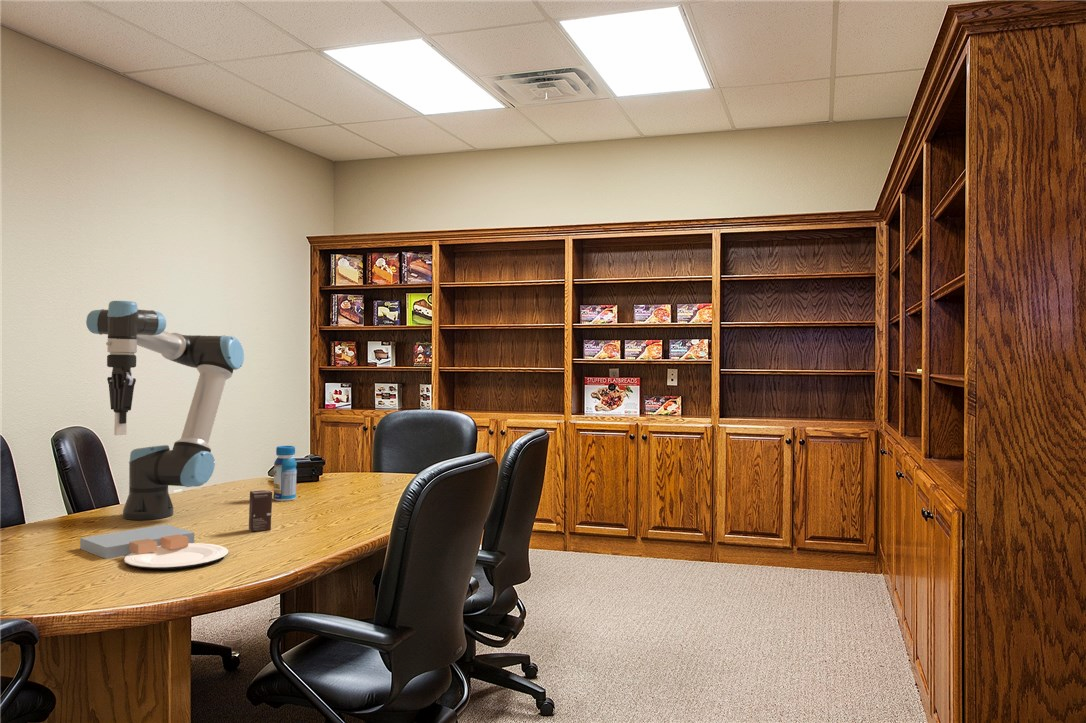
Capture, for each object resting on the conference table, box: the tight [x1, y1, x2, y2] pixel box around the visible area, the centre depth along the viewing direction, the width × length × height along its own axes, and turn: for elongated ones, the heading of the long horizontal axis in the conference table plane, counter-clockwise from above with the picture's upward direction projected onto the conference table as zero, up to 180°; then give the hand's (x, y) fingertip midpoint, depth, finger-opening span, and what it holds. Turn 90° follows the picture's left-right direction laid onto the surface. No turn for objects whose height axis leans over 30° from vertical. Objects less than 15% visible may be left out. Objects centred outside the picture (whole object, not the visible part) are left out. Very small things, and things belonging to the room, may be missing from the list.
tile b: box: [129, 539, 158, 554], centre depth 207 cm, size 5×5×2 cm
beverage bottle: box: [272, 445, 298, 502], centre depth 292 cm, size 8×8×20 cm
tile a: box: [161, 534, 188, 550], centre depth 213 cm, size 5×5×2 cm
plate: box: [123, 542, 229, 570], centre depth 205 cm, size 25×25×2 cm
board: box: [79, 524, 195, 560], centre depth 218 cm, size 16×24×3 cm, turn 142°
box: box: [248, 489, 273, 533], centre depth 241 cm, size 6×4×12 cm
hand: (120, 434), depth 226 cm, fingers closed
